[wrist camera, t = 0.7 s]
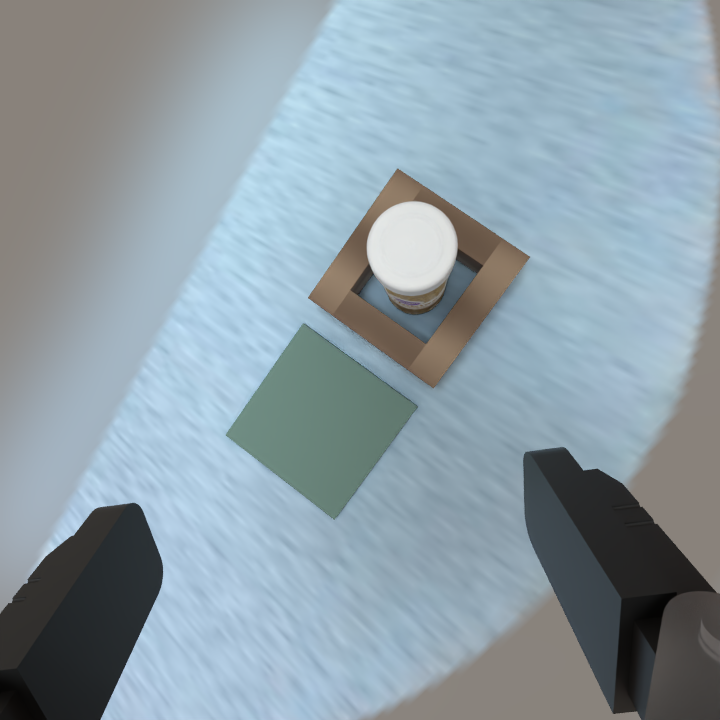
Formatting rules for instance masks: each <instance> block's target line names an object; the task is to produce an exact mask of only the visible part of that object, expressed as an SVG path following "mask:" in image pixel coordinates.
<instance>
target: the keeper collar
mask: <svg viewBox="0 0 720 720" xmlns="http://www.w3.org/2000/svg"><path fill="white" fill-rule="evenodd" d="M410 201H417V202H424V203H427V204H430V205H432V206H434V207H436V208H438V209H439V210H441V211H442V212H443V213H444V214H445V215H446V216H447V217H448V219H449V220H450V221H451V223H452V225H453V227H454V229H455V232H456V235H457V242H458V251H457V256H456V260H458V261H459V262H461V263H462V264H463V265H465V266H466V267H468V268H469V269H471V270H472V271H474V272H475V273H477V275H476V276H475V278H474V279H473V280H472V282H471V283H470V285H469V286H468V287H467V289H466V290H465V292H464V293H463V294H462V296H461V297H460V298H459V300H458V301H457V303H456V304H455V305H454V307H453V308H452V309H451V311H450V312H449V314H448V315H447V316H446V318H445V319H444V320H443V322H442V323H441V325H440V326H439V327H438V329H437V330H436V331H435V333H434V334H433V336H432V337H431V338H430V340H429V341H428V342H427V344H425V343H424V342H423V341H421V340H420V339H418V338H417V337H416V336H414V335H413V334H411V333H410V332H408V331H407V330H406V329H404V328H403V327H401V326H400V325H399V324H397V323H396V322H394V321H393V320H392V319H390V318H389V317H387V316H386V315H385V314H383V313H382V312H380V311H379V310H377V309H376V308H375V307H373V306H372V305H370V304H369V303H368V302H366V301H365V300H363V299H362V298H361V297H359V296H358V294H359V293H360V291H361V290H362V289H363V287H364V286H365V284H366V283H367V282H368V280H369V279H370V277H371V276H372V274H373V271H372V269H371V267H370V264H369V261H368V257H367V239H368V235H369V232H370V230H371V228H372V226H373V224H374V222H375V221H376V220H377V218H378V217H379V216H380V215H381V214H382V213H383V212H385V211H386V210H387V209H389V208H391V207H392V206H395V205H397V204H400V203H403V202H410ZM529 258H530V257H529V256H528V255H526V254H525V253H523V252H522V251H520V250H519V249H517V248H516V247H514V246H513V245H511V244H510V243H508V242H507V241H505V240H504V239H502V238H501V237H499V236H498V235H496V234H495V233H493V232H492V231H490V230H489V229H487V228H486V227H484V226H483V225H481V224H480V223H479V222H477V221H476V220H474V219H473V218H471V217H470V216H468V215H467V214H465V213H464V212H462V211H461V210H459V209H458V208H456V207H455V206H453V205H452V204H450V203H449V202H447V201H446V200H444V199H443V198H441V197H440V196H438V195H437V194H435V193H434V192H432V191H431V190H429V189H428V188H426V187H425V186H423V185H422V184H420V183H419V182H417V181H416V180H414V179H413V178H411V177H410V176H408V175H407V174H405V173H404V172H402V171H401V170H399V169H397V170H396V171H395V173H394V174H393V176H392V177H391V179H390V180H389V182H388V183H387V184H386V186H385V187H384V189H383V190H382V192H381V193H380V195H379V196H378V197H377V199H376V200H375V202H374V203H373V205H372V206H371V208H370V209H369V210H368V212H367V213H366V215H365V216H364V218H363V219H362V221H361V222H360V223H359V225H358V226H357V228H356V229H355V231H354V232H353V234H352V235H351V236H350V238H349V239H348V241H347V242H346V244H345V245H344V247H343V248H342V249H341V251H340V252H339V254H338V255H337V257H336V258H335V260H334V261H333V262H332V264H331V265H330V267H329V268H328V270H327V271H326V273H325V274H324V275H323V277H322V278H321V280H320V281H319V283H318V284H317V285H316V287H315V288H314V290H313V291H312V293H311V294H310V296H309V297H308V298H309V299H310V300H312V301H313V302H314V303H316V304H317V305H319V306H320V307H321V308H323V309H324V310H325V311H327V312H328V313H330V314H331V315H332V316H334V317H335V318H337V319H338V320H339V321H341V322H342V323H344V324H345V325H346V326H348V327H349V328H350V329H352V330H353V331H355V332H356V333H357V334H359V335H360V336H362V337H363V338H364V339H366V340H367V341H368V342H370V343H371V344H373V345H374V346H375V347H377V348H378V349H380V350H381V351H382V352H384V353H385V354H387V355H388V356H389V357H391V358H392V359H393V360H395V361H396V362H398V363H399V364H400V365H402V366H403V367H405V368H406V369H407V370H409V371H410V372H411V373H413V374H414V375H416V376H417V377H418V378H420V379H421V380H423V381H424V382H425V383H427V384H428V385H430V386H431V387H432V388H434V387H435V386H436V384H437V383H438V382H439V380H440V379H441V378H442V376H443V375H444V373H445V372H446V371H447V369H448V368H449V367H450V365H451V364H452V363H453V361H454V360H455V358H456V357H457V356H458V354H459V353H460V352H461V350H462V349H463V348H464V346H465V345H466V343H467V342H468V341H469V339H470V338H471V337H472V335H473V334H474V333H475V331H476V330H477V329H478V327H479V326H480V324H481V323H482V322H483V320H484V319H485V318H486V316H487V315H488V314H489V312H490V311H491V309H492V308H493V307H494V305H495V304H496V303H497V301H498V300H499V299H500V297H501V296H502V294H503V293H504V292H505V290H506V289H507V288H508V286H509V285H510V284H511V282H512V281H513V279H514V278H515V277H516V275H517V274H518V273H519V271H520V270H521V269H522V267H523V266H524V265H525V263H526V262H527V260H528V259H529Z"/></svg>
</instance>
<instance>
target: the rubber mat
mask: <svg viewBox="0 0 720 720" xmlns="http://www.w3.org/2000/svg"><path fill="white" fill-rule="evenodd" d="M416 408H417V406H416V405H415V404H414V403H412V402H411V401H409V400H408V399H407V398H405V397H404V396H403V395H401V394H400V393H398V392H397V391H396V390H394V389H393V388H392V387H390V386H389V385H388V384H386V383H385V382H383V381H382V380H381V379H379V378H378V377H377V376H375V375H374V374H372V373H371V372H370V371H368V370H367V369H366V368H364V367H363V366H361V365H360V364H359V363H357V362H356V361H355V360H353V359H352V358H350V357H349V356H348V355H346V354H345V353H344V352H342V351H341V350H339V349H338V348H337V347H335V346H334V345H333V344H331V343H330V342H329V341H327V340H326V339H324V338H323V337H322V336H320V335H319V334H318V333H316V332H315V331H313V330H312V329H311V328H309V327H308V326H307V325H305V324H302V326H301V327H300V329H299V330H298V332H297V333H296V334H295V336H294V337H293V339H292V340H291V342H290V343H289V345H288V346H287V347H286V349H285V350H284V352H283V353H282V355H281V356H280V357H279V359H278V360H277V362H276V363H275V365H274V366H273V368H272V369H271V370H270V372H269V373H268V375H267V376H266V378H265V379H264V380H263V382H262V383H261V385H260V386H259V388H258V389H257V391H256V392H255V393H254V395H253V396H252V398H251V399H250V401H249V402H248V403H247V405H246V406H245V408H244V409H243V411H242V412H241V414H240V415H239V416H238V418H237V419H236V421H235V422H234V424H233V425H232V426H231V428H230V429H229V431H228V432H227V434H226V436H227V437H229V438H230V439H231V440H232V441H234V442H235V443H236V444H238V445H239V446H240V447H241V448H243V449H244V450H245V451H247V452H248V453H249V454H250V455H252V456H253V457H254V458H256V459H257V460H258V461H259V462H261V463H262V464H263V465H265V466H266V467H267V468H268V469H270V470H271V471H272V472H274V473H275V474H276V475H277V476H279V477H280V478H281V479H283V480H284V481H285V482H286V483H288V484H289V485H290V486H292V487H293V488H294V489H295V490H297V491H298V492H299V493H301V494H302V495H303V496H305V497H306V498H307V499H308V500H310V501H311V502H312V503H314V504H315V505H316V506H317V507H319V508H320V509H321V510H323V511H324V512H325V513H326V514H328V515H329V516H330V517H332V518H333V519H334V520H335V518H336V517H337V516H338V514H339V513H340V512H341V510H342V509H343V507H344V506H345V505H346V503H347V502H348V501H349V499H350V498H351V497H352V495H353V494H354V492H355V491H356V490H357V488H358V487H359V486H360V484H361V483H362V482H363V480H364V479H365V477H366V476H367V475H368V473H369V472H370V471H371V469H372V468H373V467H374V465H375V464H376V462H377V461H378V460H379V458H380V457H381V456H382V454H383V453H384V452H385V450H386V449H387V447H388V446H389V445H390V443H391V442H392V441H393V439H394V438H395V437H396V435H397V434H398V432H399V431H400V430H401V428H402V427H403V426H404V424H405V423H406V422H407V420H408V419H409V417H410V416H411V415H412V413H413V412H414V411H415V409H416Z"/></svg>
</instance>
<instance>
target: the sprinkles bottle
mask: <svg viewBox="0 0 720 720" xmlns="http://www.w3.org/2000/svg"><path fill="white" fill-rule="evenodd" d="M457 251H458V242H457V235H456V232H455V229H454V227H453V225H452V223H451V221H450V220H449V219H448V217H447V216H446V215H445V214H444V213H443V212H442V211H441V210H439V209H438V208H436V207H434V206H432V205H430V204H427V203H424V202H417V201H410V202H403V203H400V204H397V205H395V206H392V207H391V208H389V209H387V210H386V211H385V212H383V213H382V214H381V215H380V216H379V217H378V218H377V220H376V221H375V222H374V224H373V226H372V228H371V230H370V232H369V235H368V239H367V257H368V261H369V264H370V267H371V269H372V271H373V273H374V275H375V276H376V278H377V279H378V280H379V282H380V283H381V284H382V285H383V286H384V288H385V291H386V292H387V294H388V296H389V299H390V301H391V302H392V304H393V305H395V306H396V307H397V308H398V309H399V310H401V311H403V312H405V313H408V314H422V313H425V312H428V311H430V310H432V309H433V308H434V307H436V305H437V304H438V303H439V302H440V301H441V299H442V297H443V295H444V291H445V287H446V283H447V279H448V277H449V275H450V273H451V271H452V269H453V267H454V264H455V261H456V256H457Z"/></svg>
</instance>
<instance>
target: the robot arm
mask: <svg viewBox="0 0 720 720" xmlns="http://www.w3.org/2000/svg"><path fill="white" fill-rule="evenodd" d="M523 467H524V505H525V520H526V526H527V530H528V534H529V538H530V541H531V543H532V546H533V548H534V550H535V552H536V554H537V556H538V558H539V560H540V562H541V565H542V567H543V569H544V571H545V573H546V575H547V577H548V579H549V581H550V583H551V585H552V587H553V590H554V592H555V594H556V596H557V598H558V600H559V602H560V604H561V606H562V608H563V610H564V612H565V615H566V617H567V619H568V621H569V623H570V625H571V627H572V629H573V631H574V633H575V635H576V637H577V640H578V642H579V644H580V646H581V648H582V650H583V652H584V654H585V656H586V658H587V660H588V662H589V664H590V667H591V669H592V671H593V673H594V675H595V677H596V679H597V681H598V683H599V685H600V687H601V690H602V692H603V694H604V696H605V698H606V700H607V702H608V704H609V706H610V708H611V710H612V712H613V714H616V713H625V712H634V711H637V712H638V714H639V716H640V718H641V720H720V594H719V593H717V592H716V591H715V590H714V589H713V588H712V587H711V586H710V585H709V584H708V582H707V581H706V580H705V579H704V578H703V576H702V575H701V574H700V573H699V572H698V571H697V569H696V568H695V567H694V566H693V565H692V564H691V563H690V561H689V560H688V559H687V558H686V557H685V556H684V554H683V553H682V552H681V551H680V550H679V549H678V548H677V547H676V545H675V544H674V543H673V542H672V541H671V539H670V538H669V537H668V536H667V535H666V534H665V532H664V531H663V530H662V529H661V528H660V527H659V526H658V524H654V521H653V519H652V517H651V516H650V515H649V514H648V513H647V512H646V510H645V509H644V508H643V507H640V506H639V502H638V501H637V500H636V499H635V498H634V497H633V496H632V494H631V493H630V492H629V491H628V490H627V488H626V487H625V486H624V485H623V484H622V483H620V482H619V481H617V480H615V479H614V478H612V477H610V476H609V475H607V474H605V473H604V472H602V471H600V470H599V469H592V470H584V471H583V469H582V468H581V467H580V466H579V464H578V463H577V462H576V460H575V459H574V458H573V456H572V455H571V454H570V453H569V451H568V450H567V449H566V448H564V447H560V448H552V449H545V450H537V451H530V452H526V453H525V454H524V459H523ZM162 579H163V565H162V560H161V557H160V554H159V551H158V549H157V546H156V544H155V541H154V539H153V536H152V533H151V531H150V528H149V526H148V523H147V521H146V518H145V515H144V513H143V511H142V509H141V507H140V506H139V505H138V504H136V503H130V504H122V505H115V506H107V507H100V508H96V509H95V510H94V511H93V512H92V513H91V514H90V515H89V516H88V518H87V519H86V520H85V522H84V523H83V524H82V526H81V527H80V528H79V529H78V531H77V532H76V533H75V535H74V536H71V537H69V538H68V539H67V540H66V541H64V542H63V543H62V544H61V545H60V546H58V547H57V548H56V549H55V550H53V551H52V552H51V553H50V554H48V555H47V556H46V557H45V558H44V560H43V561H42V562H41V563H40V565H39V566H38V567H37V568H36V570H35V571H34V572H33V573H32V575H31V576H30V577H29V578H28V583H27V584H24V585H23V586H22V587H21V588H20V590H19V591H18V592H17V593H16V595H15V596H14V597H13V601H12V603H8V605H7V606H6V607H5V608H4V610H3V611H2V612H1V614H0V720H100V719H101V717H102V715H103V713H104V711H105V708H106V706H107V704H108V702H109V700H110V698H111V695H112V693H113V691H114V689H115V687H116V685H117V682H118V680H119V678H120V676H121V674H122V672H123V669H124V667H125V665H126V663H127V661H128V659H129V656H130V654H131V652H132V650H133V648H134V646H135V643H136V641H137V639H138V637H139V635H140V633H141V630H142V628H143V626H144V624H145V622H146V620H147V617H148V615H149V613H150V611H151V609H152V607H153V604H154V602H155V600H156V598H157V596H158V594H159V591H160V588H161V585H162Z"/></svg>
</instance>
